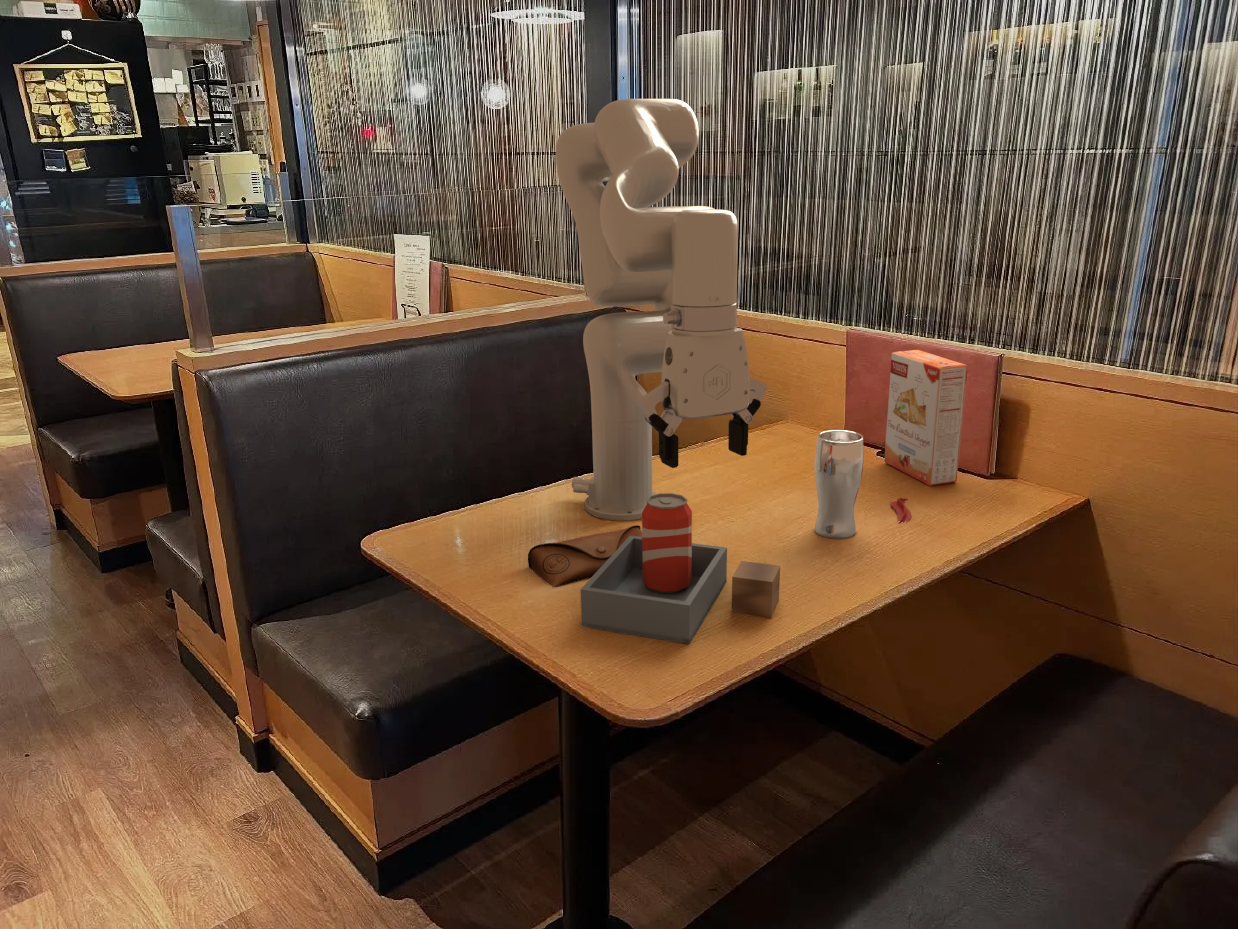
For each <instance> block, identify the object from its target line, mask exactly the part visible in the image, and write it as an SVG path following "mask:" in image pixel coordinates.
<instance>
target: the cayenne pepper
mask: <svg viewBox="0 0 1238 929" xmlns="http://www.w3.org/2000/svg"><path fill="white" fill-rule="evenodd" d="M896 499H897V500H895V501H891V502H890V504H889V505H890V508H891V509H892V510H893V509H894V510H895V511H896V512H895V511H894V510H893V511H894V512H895V514H896V515H897V522H898V521H900V522H898V523H899V524H902V523H901V522H903V523H904V522H905V521H906V523H908V522H909V521H910V520H911V518H912V513H911V511H910V510H909V509H908V508H907V507H906V505H905V503H906V502H905V501H908V500H909V499H908V498H900V497H898V498H896Z"/></svg>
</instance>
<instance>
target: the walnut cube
mask: <svg viewBox="0 0 1238 929" xmlns="http://www.w3.org/2000/svg"><path fill="white" fill-rule="evenodd" d="M780 580H781V565H778V564H777V565H776V564H771V563H762V562H754V561H753V562H752V561H745V560H741V561H740V562H739V564H738V565H737V567H736V569H735V570H734V573H733V575H732V576H731V612H730V613H731V614H737V615H744V616H750V617H759V618H765V619H772V617H773V615H774V614H775V610H776V609H777V606H778V604H779V602H780Z"/></svg>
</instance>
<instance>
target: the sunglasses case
mask: <svg viewBox="0 0 1238 929" xmlns="http://www.w3.org/2000/svg"><path fill="white" fill-rule="evenodd" d="M641 529H642V527H641V526H640V525H639V524H635V525H631V526H628V527H626V528H622V529H618V530H612V531H606V532H600V533H594V534H590V535H585V536H580V537H575V538H571V539H567V540H562V541H557V542H547V543H539V544H537V545H535V546H533V547H531V548H530V549H529V551H528V554H527V566H528V569H529V570H531V571H532V570H533V571H532V572H533V573H534V574H536V575H537V576H538V577H539V578H540V579H541V580H543V581H544V582H545V583H546V584H548V585H549V586H551V588H557V587H562V586H565V585H568V584H572V583H575V582H579V581H583V580H587V579H588V580H589V579H590V578H591V577H592V576H593V575H594V574H595V573H596V572H597V571H598V570H599V569H600V568H601V567H602V565H603V564H604V563H605V562H606V561H607V560H608V559H609V558H610V557H611V556H612V555H613V554H614V552H615V551H616V550H617V549H618V548H619V547H620V546H621V545H622V544H623V543H624V542H625V540H626V539H627V538H628V537H629V536H638V537H642V530H641Z"/></svg>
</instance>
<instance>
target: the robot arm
mask: <svg viewBox="0 0 1238 929" xmlns="http://www.w3.org/2000/svg"><path fill="white" fill-rule="evenodd" d="M699 136H700V130H699V123H698V118H697V116H696V115H695V112H694V110H693V109H692V107H691V106H690V105H689V104H688V103H686V102H685V101H683V100H680V99H677V98H623V99H617V100H615V101H612V102H610V103H607V104H606V105H605V106H603V107H602V108H601V109H600V110H599V112H598V113H597V115H596V117H595V119H594V122H586V123H585V122H584V123H579V124H575V125H572V126H569V127H566V128H565V129H564V130H563V131H562V132H561V133H559V136H558V138H557V140H556V146H555V164H556V171H557V176H558V182H559V185H560V188H561V190H562V192H563V196H564V197H565V200H566V202H567V205H568V206H569V209H570V211H571V213H572V216H573V219H574V221H575V222H574V223H575V227H576V231H577V238H578V239H577V240H578V247H579V254H580V260H581V261H580V262H581V268H582V269H581V270H582V275H583V282H584V287H585V291H586V294H587V296H588V298H589V300H590V301H591V302H592V303H593V304H594V305H597V306H600V307H628V306H629V307H630V306H642V305H643V306H644V305H652V306H653V307H655V309H656V310H646V311H640V310H639V311H626V312H625V311H624V312H612V313H607V314H603V315H599V316H596V317H595V318H593V319H591V320H590V321H589V322H588V323H587V325H586V326H585V328H584V331H583V335H582V336H583V338H582V342H583V343H582V345H583V352H584V356H585V360H586V366H587V373H588V379H589V387H590V388H589V390H590V405H591V407H590V408H591V430H592V431H591V432H592V433H591V434H592V436H591V437H592V465H593V466H592V467H593V471H592V472H593V476H592V477H591V478H585V477H580V476H579V477H578V476H573V477H572V480H571V487H572V491H573V493H575V494H576V493H577V494H586V495H587V497H586V498H585V501H584V509H585V511H586V512H587V513H589V514H590V515H592V516H594V517H597V518H600V519H604V520H611V521H630V520H631V521H632V520H640V519H642V512H643V510H644V508H645V506H646V505H647V502H646V500H647V499H648V498H649V496H652V495H656V494H657V493H656V492H655V491H653V429H654V430H655V432H658V456H659V459H660V461H661V462H660V463H662V464H664V465H666V466H668V467H669V468H671V469H675V468H678V467H679V436H678V435H677V434H675V432H676V430H677V429H678V427H679V426H680V425H681V423H682V421H683V420H687V421H689V420H690V421H691V420H699V419H700V420H701V419H707V418H712V417H719V416H727V415H730V416H732V419H731V418H730V419H728V420H729V421H728V450H729V451H730V452H732V453H733V454H734V453H735V454H736V455H739V456H741V457H745V456H747V455H748V452H747V451H748V445H749V425H750V424H751V423H752V422H753V419H754V415H755V414H756V413H757V411H759V409H760V408H761V405H762V403H761V401H763V398H764V396H765V394H766V391H767V389H768V386H767V384H765V383H763V382H761V381H759V380H757V379H755V378H753V377H751V376H750V368H749V367H750V366H749V358H748V357H749V356H748V350H747V349H748V348H747V344H746V340H745V334H744V330H743V329H742V328H740V327H737V321H738V320H737V316H738V315H737V314H738V310H737V308H738V303H737V301H738V299H737V298H738V242H739V241H738V227H739V226H738V220H737V217H736V215H735V214H734V213H733V212H732V211H731V210H727V209H719V208H718V209H715V208H714V207H712V206H706V205H689V206H685V205H684V206H679V205H678V206H677V205H675V206H674V205H673V206H653V205H656V204H657V203H659V202H660V201H662V200H663V199H665V198H666V197H667V196H668V195H669V194H670V193H671V192H672V190H673V189H674V188H675V186H676V184H677V181H678V179H679V172H680V168H681V167H683V166H684V165H685V164H686V163H688V161H690V160H691V159H692V158H693V156H694V154H696V153H695V152H696V150H697V149H698V148H697V147H698V144H699V138H700V137H699ZM603 182H606V185H604V183H603ZM649 373H650V374H651V373H652V374H653V373H661V383H660V384H659V385H657V386H656V387H654V388H653V389H652V390H651V391H649V392H647V391H646V390H645V389H644V388H643V386H641V384H640V383H639V382H638V380H636V376H639V375H643V374H649ZM660 402H661V406H662V407H661V408H662V410H663V411H662V413H661V415H658V412H657V410H656V405H657V404H659V403H660Z"/></svg>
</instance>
